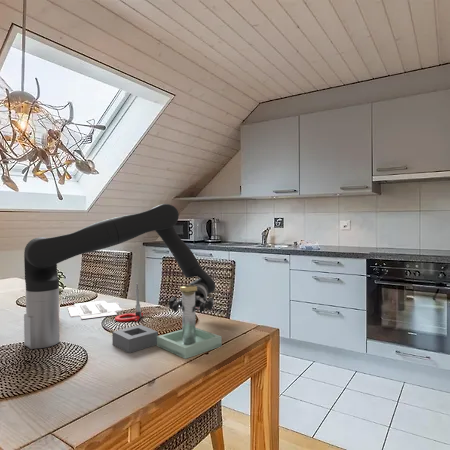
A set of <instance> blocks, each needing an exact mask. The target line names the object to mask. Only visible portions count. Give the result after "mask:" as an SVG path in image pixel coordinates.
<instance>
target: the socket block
mask: <svg viewBox="0 0 450 450" xmlns="http://www.w3.org/2000/svg"><path fill="white" fill-rule="evenodd" d="M157 336H159V331H157V330H155V329H152V328H150V327H148V326H145V325H142V324H139V325H134V326H131V327H126V328H122V329H118V330H114V331H112V336H111V337H112V346H115V347H116V348H119V349H121V350H122V351H124V352H126V353H128V354H131V353H134V352H137V351H141V350H143V349H144V350H145V349H148V348H151V347H154V346H157Z"/></svg>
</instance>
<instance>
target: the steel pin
mask: <svg viewBox="0 0 450 450" xmlns="http://www.w3.org/2000/svg"><path fill="white" fill-rule="evenodd" d="M195 291H197V286H195V285H189V284H185V285H181V286H179V292H180V293H181V298H182V309H181V310H182V311H181V315H182V317H181V318H182V321H181V322H182V323H181V324H182V328H181V330H182V339H183V344H185V345H191V344H194V343H196V328H197V327H196V311H195Z"/></svg>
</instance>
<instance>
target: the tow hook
mask: <svg viewBox="0 0 450 450" xmlns="http://www.w3.org/2000/svg"><path fill="white" fill-rule="evenodd" d="M135 300H136V301H135V312H134V313H133V312H132V313H131V312H129V313H123V314H118V315H115V317H114V320H115V322H120V323H122V322H132V321H135V322H138V321H139V320H141V318H142V317H143V316H144V313H143V312H142V310H141V303H140V289H139V283H138V282H136V283H135ZM125 317H126V318H125ZM127 317H128V318H127Z"/></svg>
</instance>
